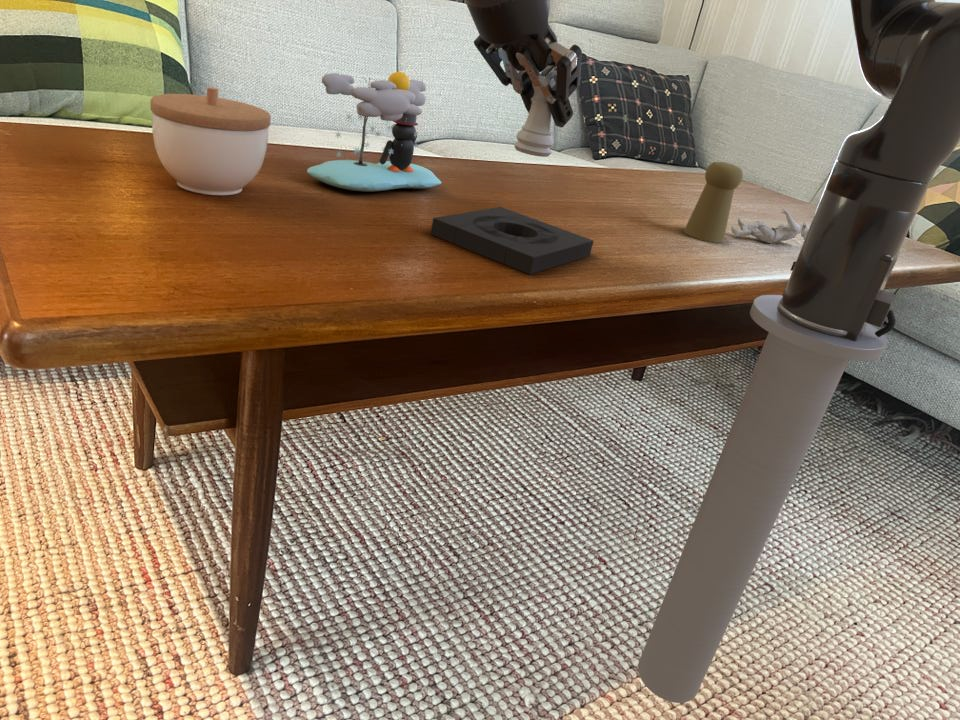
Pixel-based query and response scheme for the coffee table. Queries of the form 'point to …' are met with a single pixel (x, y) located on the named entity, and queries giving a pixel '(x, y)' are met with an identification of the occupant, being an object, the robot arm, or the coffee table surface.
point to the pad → (512, 239)
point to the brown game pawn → (714, 203)
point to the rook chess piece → (536, 127)
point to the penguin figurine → (390, 105)
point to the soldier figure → (772, 230)
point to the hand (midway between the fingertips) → (551, 117)
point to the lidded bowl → (209, 141)
